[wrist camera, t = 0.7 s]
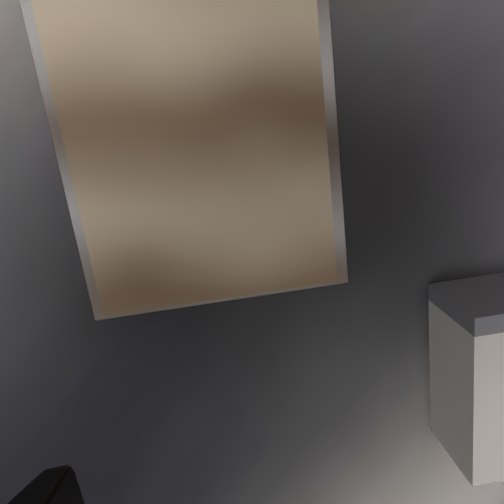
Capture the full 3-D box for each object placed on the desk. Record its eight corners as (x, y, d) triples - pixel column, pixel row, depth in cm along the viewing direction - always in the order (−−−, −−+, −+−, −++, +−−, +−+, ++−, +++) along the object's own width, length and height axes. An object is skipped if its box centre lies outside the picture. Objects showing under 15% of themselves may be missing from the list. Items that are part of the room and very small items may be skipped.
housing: (523, 412, 25) (581, 467, 21) (430, 428, 24) (472, 486, 20) (529, 268, 22) (597, 298, 19) (427, 283, 22) (474, 318, 18)
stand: (343, 276, 21) (364, 301, 19) (99, 313, 21) (82, 344, 18) (317, -78, 18) (339, -117, 15) (15, -46, 17) (-23, -80, 14)
